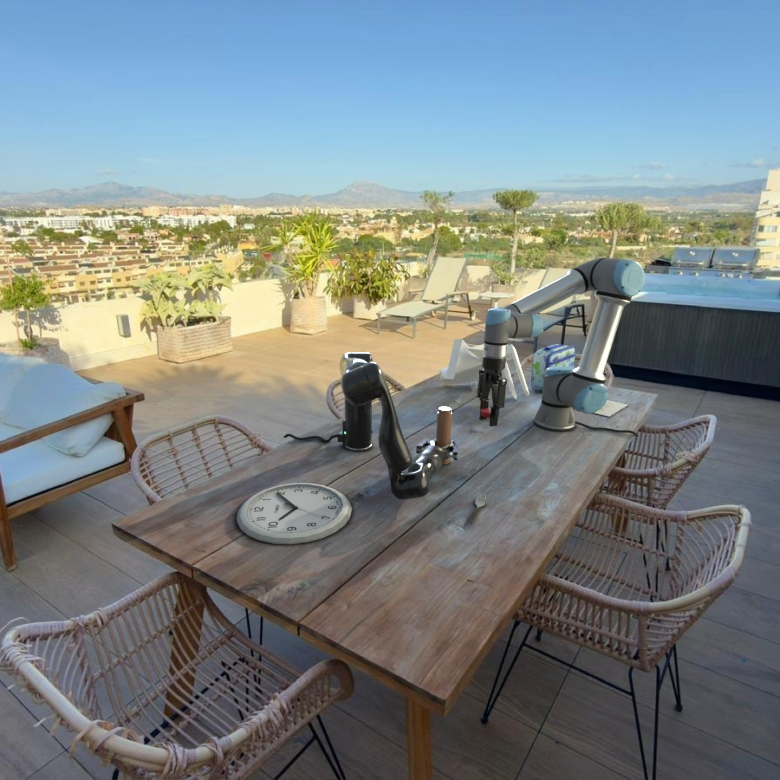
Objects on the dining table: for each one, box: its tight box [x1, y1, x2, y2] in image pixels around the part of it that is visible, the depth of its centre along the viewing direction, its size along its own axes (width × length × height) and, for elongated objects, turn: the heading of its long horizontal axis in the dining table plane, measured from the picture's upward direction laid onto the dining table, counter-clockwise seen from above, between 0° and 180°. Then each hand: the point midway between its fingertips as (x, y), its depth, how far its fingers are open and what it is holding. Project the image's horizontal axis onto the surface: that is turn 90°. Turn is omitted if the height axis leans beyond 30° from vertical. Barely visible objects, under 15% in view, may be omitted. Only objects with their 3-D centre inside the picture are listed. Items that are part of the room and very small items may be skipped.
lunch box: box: [530, 343, 576, 392], centre depth 248 cm, size 26×11×21 cm, turn 134°
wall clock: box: [236, 482, 353, 545], centre depth 139 cm, size 30×2×30 cm
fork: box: [469, 491, 487, 526], centre depth 140 cm, size 3×16×2 cm, turn 160°
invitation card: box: [594, 399, 629, 418], centre depth 226 cm, size 21×1×15 cm
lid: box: [479, 407, 491, 419], centre depth 177 cm, size 6×6×2 cm
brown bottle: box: [435, 406, 453, 466], centre depth 168 cm, size 5×5×18 cm
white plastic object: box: [438, 338, 531, 400], centre depth 245 cm, size 37×45×31 cm
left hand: (445, 441), depth 171 cm, fingers closed on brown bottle, 4 cm apart
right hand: (488, 422), depth 178 cm, fingers closed on lid, 6 cm apart
